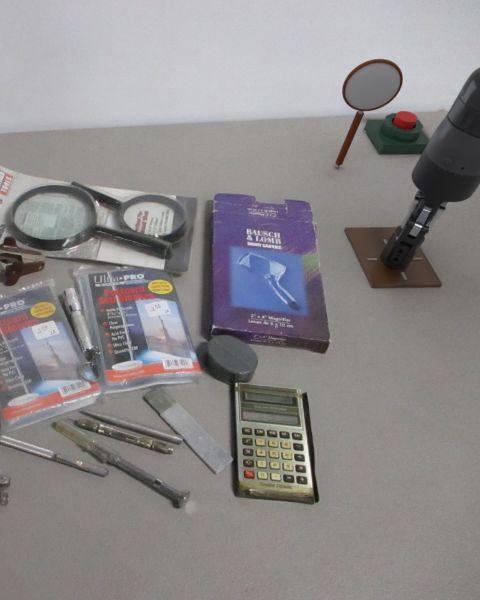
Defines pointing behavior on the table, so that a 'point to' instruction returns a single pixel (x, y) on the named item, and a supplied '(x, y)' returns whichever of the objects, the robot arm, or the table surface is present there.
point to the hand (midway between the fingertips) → (398, 252)
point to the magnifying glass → (368, 93)
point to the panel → (379, 274)
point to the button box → (396, 137)
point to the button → (405, 120)
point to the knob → (390, 246)
